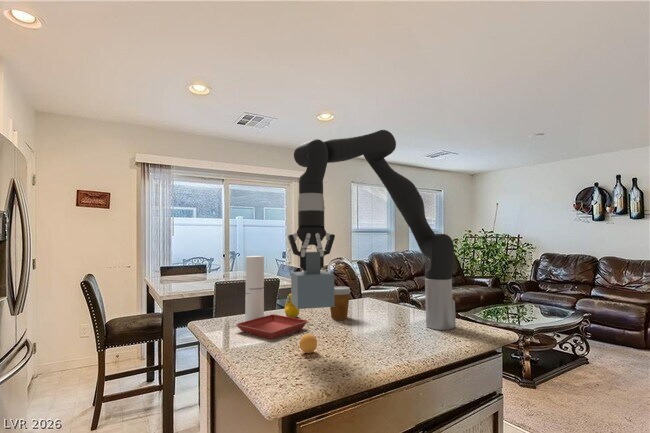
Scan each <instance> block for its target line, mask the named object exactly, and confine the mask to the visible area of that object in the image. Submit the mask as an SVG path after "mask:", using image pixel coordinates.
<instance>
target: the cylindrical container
mask: <svg viewBox="0 0 650 433" xmlns="http://www.w3.org/2000/svg"><path fill="white" fill-rule="evenodd" d="M264 296H265V255H250V256H249V255H248V256H245V300H244V303H245V308H244V309H245V310H244V312H245V314H244V316H245V319H244V320H246V321H249V320H253V319H257V318H260V317H264V316H265V297H264ZM246 321H245V322H246Z"/></svg>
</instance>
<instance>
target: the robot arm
mask: <svg viewBox="0 0 650 433" xmlns="http://www.w3.org/2000/svg"><path fill="white" fill-rule="evenodd" d="M396 148H397V142H396V139H395V136H394V135H393V133H391V132H390V131H389V130H386V129H380V130H377V131H375V132H372V133H368V134H363V135H358V136H353V137H352V136H351V137H346V138H345V137H343V138H333V139H328V140H325V141H323V140H322V139H318V138H317V139H316V138H315V139H312V140H309V141H306V142H303V143H301V144H299V145H298V146H297V147H295V149H294V151H293V159H294V161H295V163H296V164H297V165H299V166H300V167H303V168H306V170H305V172H303V173H302V174H301V175H300V177H299V180H298V201H297V204H298V206H297V211H298V213H297V214H298V215H297V217H298V218H297V219H298V220H297V222H298V225H297V227H298V228H297V230H296V232H294V233H293V234H288V235H287V239H288V241H289V245H290V247H291V248H290V249H291V252H292V254H293V255H295V256H297V257H299V268H300V269H301V271H302V272H304V271H305V270H306V257H305V253H306V252H307V250H308V246H311V245H312V246H315V247H314V248H315V250H316V252H320V271H323V268H324V265H325V264H324V263H325V261H324V258H325V256H327V255H330V253H331V251H332V248H333V247H332V246H333V244H334V241H335V237H336V235H335V234H334V233H329V232H327V231H326V229H325V199H324V198H325V197H324V178H325V175H326V170H327V167H328V166H327V165H328V164H329V163H340V162H345V161H349V160H353V159H355V158H358V157H361V156H363V157H364V159H365V160H366V162H367V163H368V164H369V166H370V167H371V169H372V170H373V171H374V173H375V174H376V175H377V177H378V178H379V180H380V181H381V183H382V184H383V186H384V188H385V189H386V190H387V192H388V194H389V196H390V198H391V199H392V201H393V204H395V206H396V208H397V210H398V211H399V213H400V214H401V215H402V217H403V219H404V221H405V223H406V224H407V226H408V227H409V229H410V231H411V234H412V236H413V237H414V239H415V241H416V243H417V246H418V248H419V250H420V252H421V254H422V255H423V256H425V258H428V259H431V260H430V266H429V267H428V268H426V269H425V270H424V291H425V293H424V294H425V296H424V298H425V327H427V328H428V329H433V330H439V331H440V330H441V331H446V330H447V331H448V330H451V329H452V330H453V329H455V328H456V326H457V325H456V301H455V300H454V299H453V272H454V270H455V269H454V268H455V246H454V245H455V244H454V241H453V240H452V238H451V237H450V236H449V235H448V234H446V233H435V232H434V231H433V229H432V227H431V226H430V224H429V223H428V220H427V217H426V212H425V205H424V204H425V203H424V200H423V197H422V196H421V194H420V192H419V190H418V189H417V186H416V185H415V184H414V182H412V181H411V180H410V179H408V178H407V177H405V176H403V175H402V174H400V173H398V171H396V170H394V169H393V168H392V167H391V166H390V164H389V163H388V162H387V160H386V159H385V158H386V157H388V156H390V155H391V154H393V152H395V150H396ZM297 237H298V238H299V240H300V241H301V245H300V250H299V249H298V246H297V242H296V241H297V240H298V239H297ZM324 238H325V241H326V243H325V247H323V243H322V241H323V240H324ZM323 248H324V249H323Z"/></svg>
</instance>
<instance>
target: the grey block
mask: <svg viewBox="0 0 650 433" xmlns="http://www.w3.org/2000/svg"><path fill="white" fill-rule="evenodd" d="M305 257H306V270H305V271H291V272H290V278H291V279H290V283H291V285H290V287H291V288H290V291H291V302H292V304H293V305H294V306H295V307H296V308H297V309H299V310H304V309H306V310H307V309H319V308H330V307H335V306H334V286H335V273H331V272H329V271H326V270H320V252H317V251H306V253H305Z"/></svg>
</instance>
